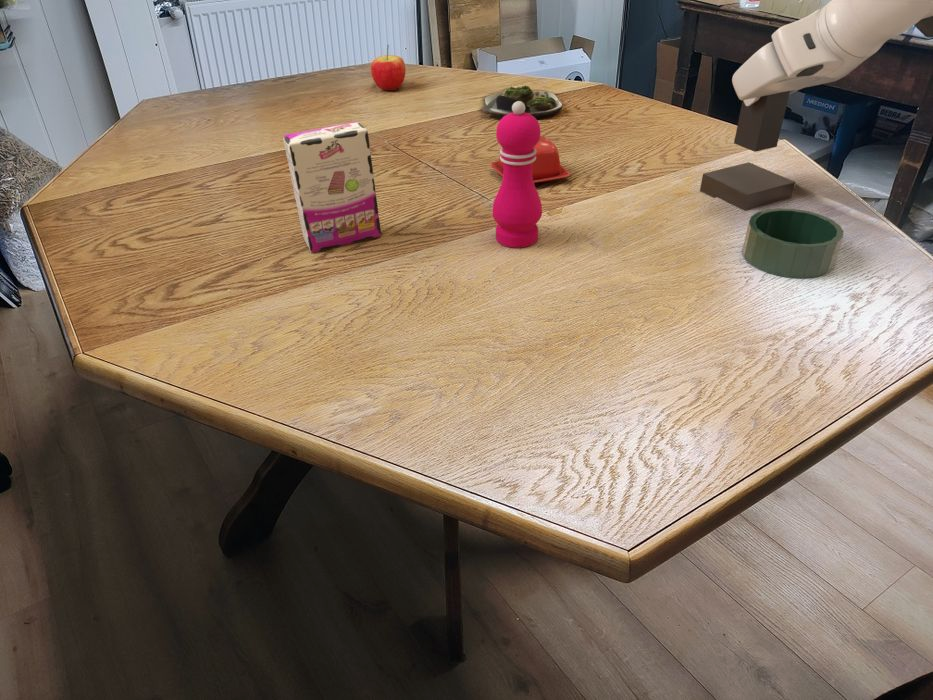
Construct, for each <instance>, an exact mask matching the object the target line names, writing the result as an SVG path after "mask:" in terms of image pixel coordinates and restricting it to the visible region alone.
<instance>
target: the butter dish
mask: <svg viewBox="0 0 933 700" xmlns="http://www.w3.org/2000/svg"><path fill="white" fill-rule="evenodd" d="M534 148H535V149H536V154H535V155H536V160H535V161H534V162H533V165H532V177H533V182H534V184H538V183H545V182H551V181H556V180H561V179H565V178H568V177H570V176H571V173H570V172H569V171H568V170H567V169H566V168H565V167H564V166H563V165H561V160H560V154H559V150H558V148H557V145H556V144H555V143H554V142H553V141H551V139H549V138H548V137H546V136H544V135H541V134H540V139H539V141H538V143H537V144H536V145H535V146H534ZM500 156H501V154H500V153H499V159H498V160H495V161H492V162H490V166H491V168H492V169H494V170H495V171H496V172H497V173H498V174H499V175H500V176H501V177H502V178H503V171H504V168H503V162H502V161H501V160H500Z"/></svg>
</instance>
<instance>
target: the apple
mask: <svg viewBox="0 0 933 700" xmlns="http://www.w3.org/2000/svg"><path fill="white" fill-rule="evenodd" d="M386 46H387V47H386V55H380V56H377V57H375V58H374V59H372V61H371V65H370V73H371V77H372V80H373V82H374V83H375V85H376V86H377V87H378V88H379V89H381V90H383V89H384V90H383V91H387V90H391V91H393V90H392V89H396V90H397V88H398V89H399V88H400V87H401V86H402V85H403V83H404V80H405V78H406V64H405V63H406V62H405V61H404V59H403V58H402V57H401V56H398V55H394V54H392V55H391V54H389V46H390V45H389V44H387V45H386Z"/></svg>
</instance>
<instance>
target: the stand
mask: <svg viewBox="0 0 933 700" xmlns="http://www.w3.org/2000/svg"><path fill="white" fill-rule="evenodd" d="M795 186H796V181H794V180H792V179H790V178H788V177H786V176H782V175H780V174H778V173H775V172H773V171H771V170H768V169H765V168H763V167H761V166H759V165H757V164H754V163H752V162H744V163H740V164H736V165H732V166H728V167H724V168H720V169H715V170H712V171H708V172H704V173H702V177H701V183H700V188H699V189H700V190H699V191H700V192H702V193H704V194H706V195H708V196H709V197H712V198H714V199H716V198H717V199H720V200H721V201H724V202H725V203H728V204H730V205H731V206H734V207H736V208H738V209H740V210H742V211H745V212H746V211H749V210H752V209H756V208H760V207H763V206H767V205H771V204H774V203H778V202H781V201H785V200H787V199H792V196H793V193H794V189H795Z"/></svg>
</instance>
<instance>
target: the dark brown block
mask: <svg viewBox="0 0 933 700" xmlns="http://www.w3.org/2000/svg"><path fill="white" fill-rule="evenodd" d="M789 94H790V91H786V92H781V93H776V94H771V95H766V96H761V100H760V101H759V102H758V103H757V104H755V105H752V106H746V105H745V103H744V101H743V100H741V101H742V102H741V107H740V112H739V117H738V121H737V125H736V131H735V135H734V141H733V144H734V145H737V146H740V147H742V148H745V149H747V150H749V151H752V152H753V153H754V152H755V153H757V152H761V151H765V150H770V149H773V148H777V147H778V143H779V140H780V134H781V130H782V127H783V122H784V119H785V115H786V110H787V106H788V102H789V98H790V95H791V94H790V95H789Z"/></svg>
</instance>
